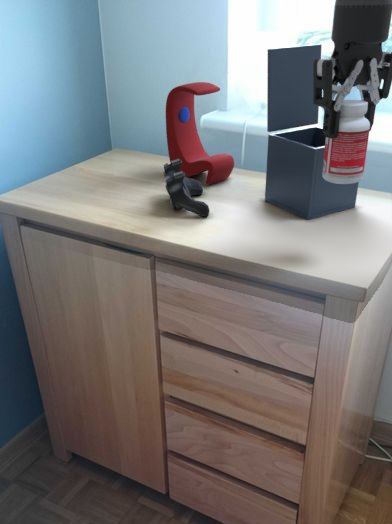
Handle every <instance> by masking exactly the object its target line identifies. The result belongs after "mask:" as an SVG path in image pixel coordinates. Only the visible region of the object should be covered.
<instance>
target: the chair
mask: <svg viewBox="0 0 392 524" xmlns="http://www.w3.org/2000/svg"><path fill="white" fill-rule="evenodd" d="M220 91H221V88H220V86H218V85H216V84H213V83H211V82H206V81H205V82H204V81H197V82H191V83H186V84H181V85H178V86H175V87H173V88H172V89H171V90H170V91H169V92H168V94H167V96H166V100H165V101H166V102H165V132H166V143H167V145H166V146H167V152H168V158H169V162H170V163H172V162H171V161H173V160H176V159H180V160H182V164H181V166H180V172H181V171H182V172H183V173H185V177H187V178H191V177H194V176H197V175H200V174H203V173H205V172H207V174H206V178H205V185H207V186H211V185H213V184H217V183H219V182H222V181H224V180H226V179H228V178H229V177H230V176H231V174H232V172H233V171H234V167H235V160H234V156H232V155H231V154H228V153H216V154H212V155H210V154H208V153H207V152H206V150H205V148H204V146H203V144H202V141H201V138H200V135H199V131H198V128H197V122H196V113H195V96H206V95H211V94H214V93H217V92H220ZM170 163H169V164H170Z"/></svg>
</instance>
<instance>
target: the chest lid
mask: <svg viewBox="0 0 392 524" xmlns="http://www.w3.org/2000/svg"><path fill="white" fill-rule="evenodd" d="M315 59H322V44H321V43H320V44H319V43H318V44H308V45H296V46H286V47H277V48H275V47H274V48H268V49H267V97H266V99H267V100H266V102H267V103H266V104H267V110H266V111H267V112H266V113H267V117H266V119H267V122H266V123H267V126H266V127H267V128H266V129H267V133H272V132H280V131H284V130H285V131H286V130H290V129H296V128H301V127H306V126H307V127H309V126H312V125H317V124H319V111H320V110H319V109H320V106H317V105H314V103H313V64H314V61H315Z"/></svg>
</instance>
